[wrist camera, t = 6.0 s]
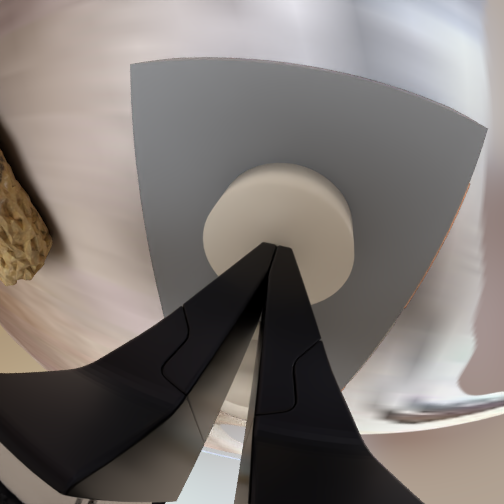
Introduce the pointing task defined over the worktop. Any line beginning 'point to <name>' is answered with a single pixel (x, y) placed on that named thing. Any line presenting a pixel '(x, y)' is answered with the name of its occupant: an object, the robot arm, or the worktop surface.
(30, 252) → the sponge
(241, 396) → the button middle
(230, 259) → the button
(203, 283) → the board
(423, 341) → the worktop surface
